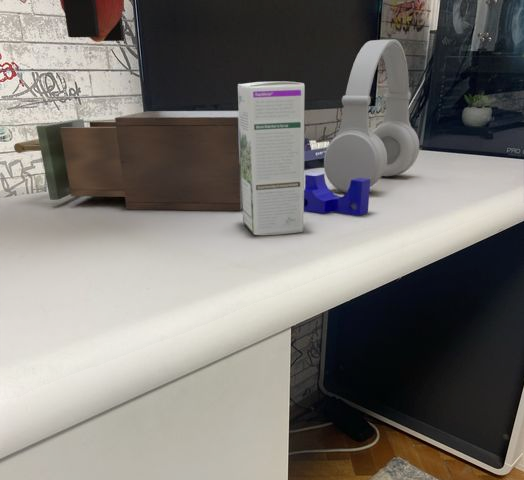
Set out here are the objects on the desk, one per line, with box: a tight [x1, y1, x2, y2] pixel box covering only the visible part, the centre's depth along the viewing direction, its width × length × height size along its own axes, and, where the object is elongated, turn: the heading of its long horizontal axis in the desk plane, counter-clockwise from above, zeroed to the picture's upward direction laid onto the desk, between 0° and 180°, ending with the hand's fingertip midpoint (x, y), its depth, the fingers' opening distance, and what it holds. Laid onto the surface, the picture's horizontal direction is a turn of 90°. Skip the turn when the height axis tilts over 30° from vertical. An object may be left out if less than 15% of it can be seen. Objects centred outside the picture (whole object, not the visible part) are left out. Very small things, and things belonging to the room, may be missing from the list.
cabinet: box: [114, 110, 243, 212], centre depth 71 cm, size 15×13×11 cm
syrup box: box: [237, 80, 306, 236], centre depth 56 cm, size 6×6×14 cm
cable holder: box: [304, 172, 371, 217], centre depth 65 cm, size 8×4×4 cm, turn 51°
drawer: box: [13, 118, 125, 201], centre depth 72 cm, size 18×12×9 cm, turn 84°
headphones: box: [323, 39, 420, 194], centre depth 78 cm, size 20×8×19 cm, turn 149°
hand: (97, 38), depth 52 cm, fingers closed on onion, 6 cm apart
